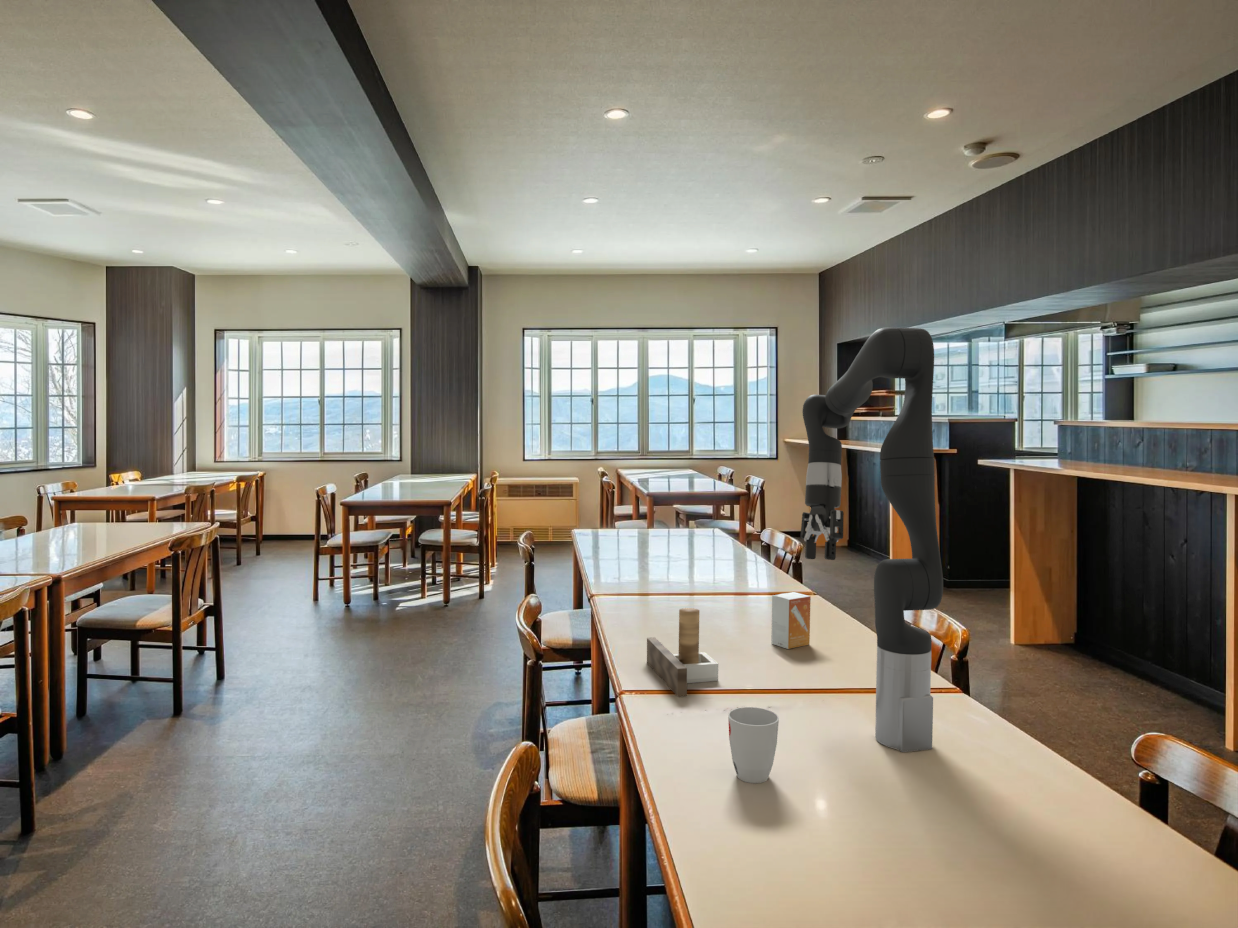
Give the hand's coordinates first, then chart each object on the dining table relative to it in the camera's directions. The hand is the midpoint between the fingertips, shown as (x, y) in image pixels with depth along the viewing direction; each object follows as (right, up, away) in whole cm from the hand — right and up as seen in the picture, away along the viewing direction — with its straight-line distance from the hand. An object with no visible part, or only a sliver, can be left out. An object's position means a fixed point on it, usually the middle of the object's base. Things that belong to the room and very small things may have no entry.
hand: (819, 559), depth 167 cm
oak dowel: (-28, -26, +6) cm, 39 cm away
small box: (+1, -27, +35) cm, 44 cm away
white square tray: (-27, -27, +6) cm, 38 cm away
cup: (-22, -31, -41) cm, 56 cm away
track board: (-25, -28, +6) cm, 38 cm away
